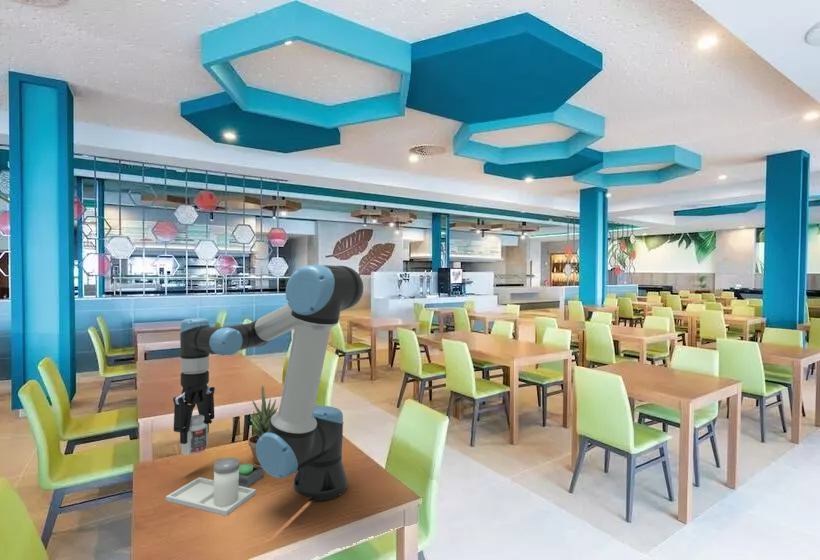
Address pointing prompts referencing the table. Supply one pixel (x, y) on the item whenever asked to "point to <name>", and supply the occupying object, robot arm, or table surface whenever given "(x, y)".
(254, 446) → the potted plant
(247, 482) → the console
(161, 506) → the table surface
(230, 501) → the white canister
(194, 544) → the table surface
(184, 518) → the table surface
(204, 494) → the white divided tray
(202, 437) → the pill bottle
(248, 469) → the button
